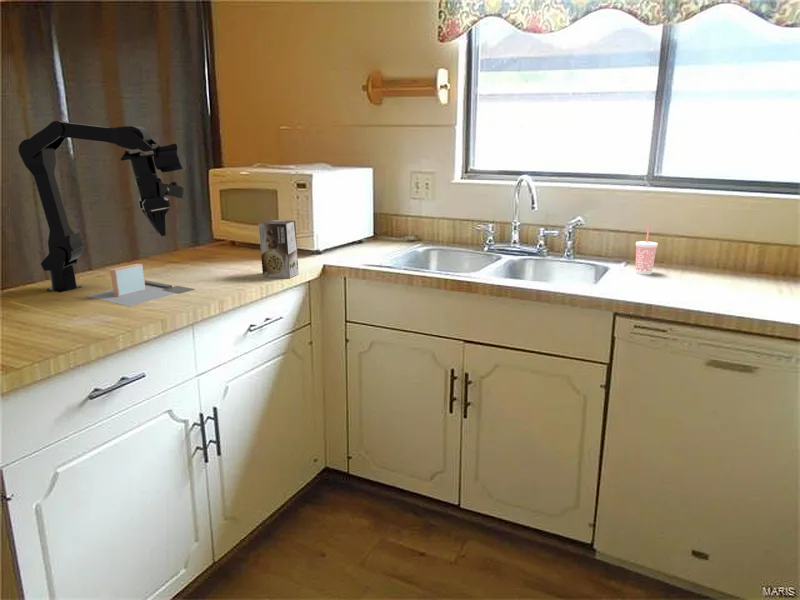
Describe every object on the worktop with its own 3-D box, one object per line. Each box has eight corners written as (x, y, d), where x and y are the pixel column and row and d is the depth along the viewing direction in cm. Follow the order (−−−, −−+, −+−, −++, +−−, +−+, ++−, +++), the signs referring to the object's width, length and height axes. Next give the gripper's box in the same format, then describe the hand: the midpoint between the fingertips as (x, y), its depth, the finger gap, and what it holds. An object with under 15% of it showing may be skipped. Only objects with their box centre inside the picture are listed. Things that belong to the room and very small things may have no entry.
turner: (133, 285, 164) (133, 282, 164) (149, 282, 168) (149, 278, 168) (179, 295, 155) (179, 291, 154) (194, 290, 159) (194, 287, 158)
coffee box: (299, 273, 177) (296, 220, 173) (290, 278, 171) (286, 223, 167) (271, 272, 179) (268, 219, 175) (261, 277, 173) (257, 222, 169)
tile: (113, 295, 153) (110, 269, 151) (141, 288, 159) (137, 263, 157) (118, 296, 152) (115, 270, 150) (145, 289, 158) (142, 264, 156)
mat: (85, 297, 153) (85, 296, 152) (140, 284, 166) (140, 282, 166) (129, 307, 144) (129, 306, 143) (183, 292, 157) (182, 291, 157)
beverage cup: (628, 271, 177) (632, 225, 173) (642, 269, 180) (647, 223, 176) (644, 275, 172) (649, 228, 168) (659, 273, 175) (664, 226, 171)
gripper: (182, 170, 149) (197, 230, 153) (173, 170, 165) (187, 225, 170) (136, 178, 145) (152, 240, 149) (131, 177, 161) (146, 233, 165)
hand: (161, 234), depth 158 cm, fingers open, 9 cm apart
